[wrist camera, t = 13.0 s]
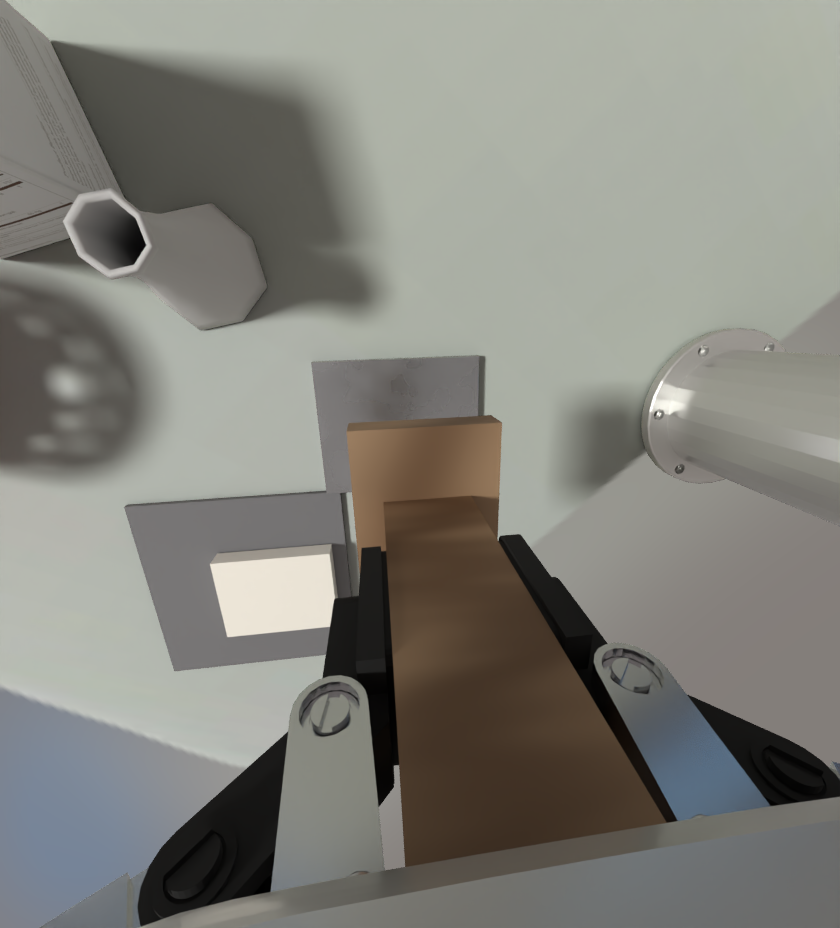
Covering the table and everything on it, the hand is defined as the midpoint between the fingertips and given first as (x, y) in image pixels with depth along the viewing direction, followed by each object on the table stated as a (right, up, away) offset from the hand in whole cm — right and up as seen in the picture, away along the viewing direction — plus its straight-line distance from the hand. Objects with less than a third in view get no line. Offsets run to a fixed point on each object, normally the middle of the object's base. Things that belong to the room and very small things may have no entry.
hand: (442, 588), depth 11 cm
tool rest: (-2, +7, +19) cm, 20 cm away
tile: (-17, -7, +21) cm, 27 cm away
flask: (-14, +16, +15) cm, 26 cm away
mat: (-15, -7, +22) cm, 27 cm away
